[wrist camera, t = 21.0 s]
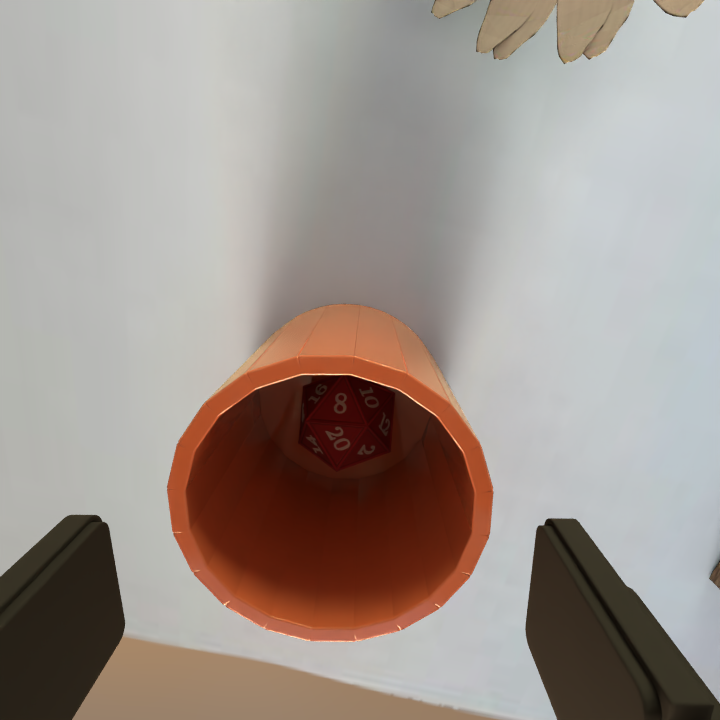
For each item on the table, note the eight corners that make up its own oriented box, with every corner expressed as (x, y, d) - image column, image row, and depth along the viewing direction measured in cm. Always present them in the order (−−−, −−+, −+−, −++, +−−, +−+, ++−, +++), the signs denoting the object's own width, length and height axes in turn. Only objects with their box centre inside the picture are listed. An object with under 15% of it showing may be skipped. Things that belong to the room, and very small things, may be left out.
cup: (258, 480, 22) (185, 640, 13) (246, 303, 20) (148, 355, 11) (436, 481, 22) (481, 644, 13) (444, 303, 19) (505, 356, 11)
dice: (282, 389, 20) (263, 423, 16) (371, 341, 19) (373, 365, 15) (324, 458, 21) (316, 506, 17) (411, 414, 20) (423, 453, 16)
